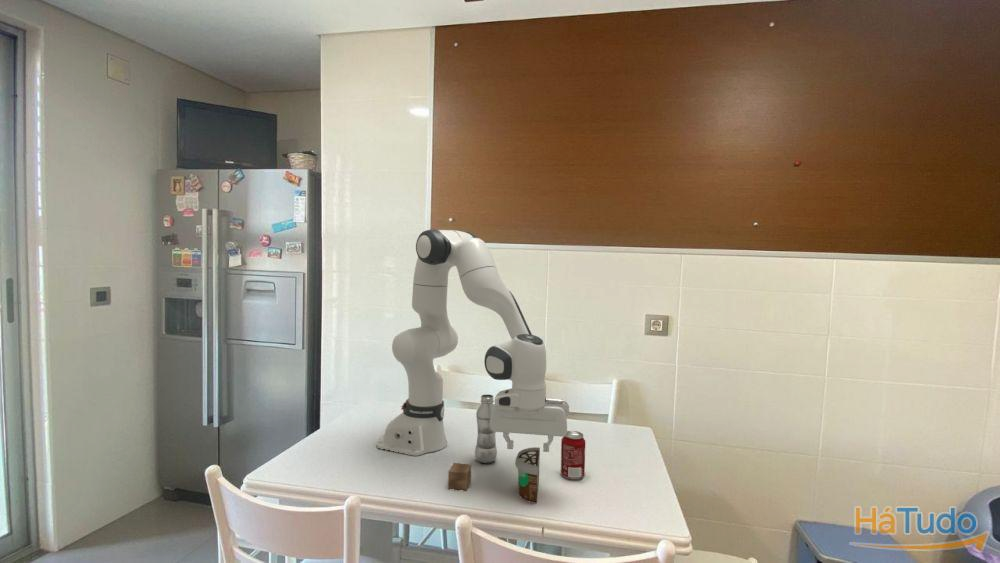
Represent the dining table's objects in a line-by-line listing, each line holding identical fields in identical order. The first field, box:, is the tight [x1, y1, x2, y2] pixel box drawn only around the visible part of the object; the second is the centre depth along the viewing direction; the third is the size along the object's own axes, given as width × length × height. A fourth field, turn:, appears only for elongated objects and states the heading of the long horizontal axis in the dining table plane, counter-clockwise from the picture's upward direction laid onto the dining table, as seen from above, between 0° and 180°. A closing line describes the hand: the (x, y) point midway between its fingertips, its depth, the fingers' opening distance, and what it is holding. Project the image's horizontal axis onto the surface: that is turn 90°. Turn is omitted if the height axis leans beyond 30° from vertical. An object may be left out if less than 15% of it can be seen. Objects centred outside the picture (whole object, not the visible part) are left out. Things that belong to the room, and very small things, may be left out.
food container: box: [514, 446, 541, 504], centre depth 117 cm, size 12×6×10 cm, turn 172°
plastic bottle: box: [474, 394, 498, 464], centre depth 135 cm, size 6×7×20 cm
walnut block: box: [447, 462, 472, 492], centre depth 121 cm, size 5×5×5 cm
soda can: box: [560, 430, 586, 481], centre depth 127 cm, size 7×7×12 cm
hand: (528, 449), depth 117 cm, fingers open, 8 cm apart
